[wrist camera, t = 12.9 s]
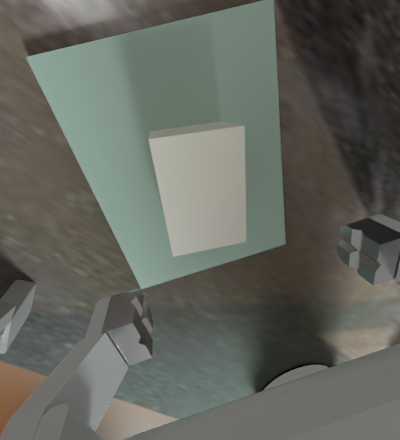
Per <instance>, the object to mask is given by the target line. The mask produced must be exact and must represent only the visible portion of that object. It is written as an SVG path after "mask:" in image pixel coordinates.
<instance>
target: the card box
mask: <svg viewBox="0 0 400 440" xmlns="http://www.w3.org/2000/svg"><path fill="white" fill-rule="evenodd" d="M148 140H149V145H150V149H151V154H152V159H153V164H154V168H155V173H156V178H157V183H158V188H159V192H160V197H161V202H162V207H163V211H164V216H165V221H166V226H167V231H168V235H169V240H170V245H171V250H172V254H173V257H175V256H180V255H185V254H190V253H194V252H199V251H204V250H209V249H214V248H219V247H224V246H229V245H233V244H238V243H243V242H246V181H245V126H244V125H238V124H233V123H227V122H213V123H206V124H199V125H192V126H184V127H177V128H170V129H162V130H155V131H150V132H149V138H148Z"/></svg>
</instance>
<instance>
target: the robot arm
mask: <svg viewBox="0 0 400 440" xmlns="http://www.w3.org/2000/svg"><path fill="white" fill-rule="evenodd" d="M338 236H339V237H340V238H341V240H340V242H339V243H338V254H339V256H340V258H341V259H342V261H343V262H344V263H345V264H347V265H348V266H349V267H353V268H356V269H357V270H358V274H359V275H361V276H362V277H363V278H364V279H366V280H367V281H368V282H370V283H371V284H372V285H376V284H380V283H383V282H386V281H390V280H393V279H396V280H397V281H399V282H400V222H398V221H396V220H393V219H391V218H389V217H386V216H384V215H380V214H376V215H373V216H370V217H367V218H365V219H362V220H359V221H356V222H352V223H349V224H346V225H343V226H341V227H340V229H339V233H338ZM143 299H144V295H143V293H142V292H141V290H140V289H134V290H131V291H127V292H124V293H120V294H117V295H113V296H110V297H107V298H103V299H100V300H99V301H98V302H97V303H96V306H95V309H94V312H93V315H92V318H91V321H90V324H89V327H88V330H87V333H86V336H85V339H83V340H80V341H79V342H78V343H77V344H76V346H75V347H74V348H73V349H72V350H71V351H70V352H69V353H68V354H67V356H66V357H65V358H64V359H63V360H62V361H61V362H60V363H59V364H58V366H57V367H56V368H55V369H54V370H53V371H52V372H51V373H50V375H49V376H48V377H47V378H46V379H45V380H44V381H43V382H42V383H41V385H40V386H39V387H38V388H37V389H36V390H35V391H34V392H33V393H32V395H31V396H30V397H29V398H28V399H27V400H26V401H25V403H24V404H23V405H22V406H21V407H20V408H19V409H18V410H17V411H16V413H15V414H14V415H13V416H12V417H11V418H10V419H9V421H8V423H7V425H6V427H5V429H4V431H3V433H2V435H1V437H0V440H103V439H102V438H101V437H100V436H99V435H98V434H97V433H96V432H95V431H96V429H97V427H98V426H99V424H100V422H101V420H102V418H103V416H104V414H105V412H106V410H107V408H108V406H109V404H110V402H111V400H112V399H113V397H114V395H115V393H116V391H117V389H118V387H119V385H120V383H121V381H122V379H123V378H124V376H125V374H126V372H127V370H128V368H129V367H128V366H130V365H133V364H136V363H139V362H141V361H144V360H147V359H150V358H152V346H153V340H152V338H151V336H150V333H151V331H152V330H153V320H152V314H151V311H150V308H149V306H148V304H147V303H145V302H143ZM122 440H400V344H397V345H394V346H391V347H388V348H385V349H383V350H380V351H377V352H374V353H371V354H368V355H365V356H362V357H359V358H356V359H354V360H351V361H348V362H345V363H342V364H339V365H336V366H333V367H330V368H329V367H327V366H323V365H309V366H304V367H300V368H297V369H294V370H291V371H289V372H287V373H285V374H283V375H281V376H280V377H278V378H276V379H275V380H274V381H272V382H271V383H270V384H269V385H268V386H267V387H266V388H265V389H264V390H263V391H261V392H258V393H255V394H252V395H249V396H247V397H244V398H241V399H238V400H235V401H232V402H229V403H226V404H223V405H221V406H218V407H215V408H212V409H209V410H206V411H203V412H200V413H197V414H194V415H192V416H189V417H186V418H183V419H180V420H177V421H174V422H171V423H168V424H166V425H163V426H160V427H157V428H154V429H151V430H148V431H146V432H142V433H139V434H137V435H134V436H131V437H128V438H125V439H122Z"/></svg>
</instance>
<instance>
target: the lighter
mask: <svg viewBox="0 0 400 440" xmlns="http://www.w3.org/2000/svg"><path fill="white" fill-rule="evenodd" d="M35 289H36V283H35V282H30V281H24V280H18V279H17V280H15V281H14V283H13V284H12V285H11V286H10V288H9V289H8V290H7V291H6V293H5V294H4V295H3V296H2V298H1V299H0V353H1V354H3V353H6V351H7V350H8V348H9V346H10V345H11V343H12V341H13V340H14V338H15V336H16V335H17V333H18V332H19V330H20V328H21V327H22V325H23V323H24V322H25V320H26V318H27V317H28V315H29V313H30V311H31V307H32V302H33V298H34V293H35Z"/></svg>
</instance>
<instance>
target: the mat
mask: <svg viewBox="0 0 400 440" xmlns="http://www.w3.org/2000/svg"><path fill="white" fill-rule="evenodd" d="M26 58H27V60H28V62H29V64H30V66H31V68H32V70H33V73H34V75H35V77H36V79H37V81H38V83H39V85H40V87H41V89H42V91H43V93H44V95H45V97H46V99H47V101H48V103H49V105H50V107H51V109H52V111H53V113H54V115H55V117H56V119H57V121H58V123H59V125H60V127H61V129H62V131H63V133H64V135H65V137H66V139H67V141H68V143H69V145H70V147H71V149H72V151H73V153H74V155H75V157H76V159H77V161H78V163H79V165H80V167H81V169H82V171H83V173H84V175H85V177H86V179H87V181H88V183H89V185H90V187H91V189H92V191H93V193H94V195H95V197H96V199H97V201H98V203H99V205H100V207H101V209H102V211H103V213H104V215H105V217H106V219H107V221H108V223H109V225H110V227H111V229H112V231H113V233H114V235H115V237H116V239H117V241H118V243H119V245H120V247H121V249H122V251H123V253H124V255H125V257H126V259H127V261H128V263H129V265H130V267H131V269H132V271H133V273H134V275H135V277H136V279H137V281H138V283H139V285H140V287H141V289H144V288H147V287H151V286H154V285H157V284H160V283H163V282H167V281H170V280H173V279H176V278H179V277H183V276H186V275H189V274H192V273H195V272H199V271H202V270H205V269H208V268H211V267H215V266H218V265H221V264H224V263H227V262H231V261H234V260H237V259H240V258H243V257H247V256H250V255H253V254H256V253H259V252H263V251H266V250H269V249H272V248H275V247H279V246H282V245H285V244H286V240H285V219H284V198H283V178H282V157H281V137H280V116H279V96H278V75H277V54H276V34H275V13H274V0H262V1H258V2H254V3H250V4H246V5H241V6H237V7H233V8H229V9H225V10H220V11H216V12H212V13H208V14H204V15H200V16H195V17H191V18H187V19H183V20H179V21H175V22H170V23H166V24H162V25H158V26H154V27H149V28H145V29H141V30H137V31H133V32H129V33H124V34H120V35H116V36H112V37H108V38H103V39H99V40H95V41H91V42H87V43H83V44H78V45H74V46H70V47H66V48H62V49H57V50H53V51H49V52H45V53H41V54H37V55H32V56H28V57H26ZM213 122H227V123H233V124H238V125H244V126H245V181H246V242H243V243H238V244H233V245H229V246H224V247H219V248H214V249H209V250H204V251H199V252H194V253H190V254H185V255H180V256H175V257H173V254H172V250H171V245H170V240H169V235H168V231H167V226H166V221H165V216H164V211H163V207H162V202H161V197H160V192H159V188H158V183H157V178H156V173H155V168H154V164H153V159H152V154H151V149H150V145H149V140H148V138H149V132H150V131H155V130H162V129H170V128H177V127H184V126H192V125H199V124H206V123H213Z"/></svg>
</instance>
